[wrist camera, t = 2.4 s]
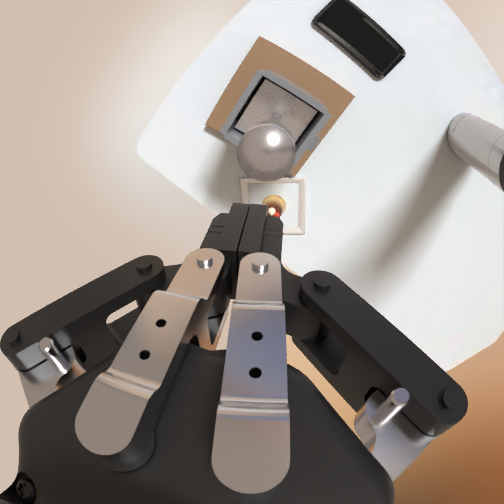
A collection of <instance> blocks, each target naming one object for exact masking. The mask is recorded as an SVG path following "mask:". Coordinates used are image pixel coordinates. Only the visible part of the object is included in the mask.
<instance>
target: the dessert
mask: <svg viewBox="0 0 504 504" xmlns="http://www.w3.org/2000/svg"><path fill="white" fill-rule="evenodd" d="M248 183H298V184H299V211H298V227H283V234H305V207H306V178H281V179H278V180H275V181H270V182H264V181H259V180H256V179H253V178H240V186H241V196H242V203H243V204H249V194H248ZM262 205H268V215H267V216H272V217H280V216H281V215H282V213H283V212H284V211H285V208H286V203H285V201H284V200H283V199H282V198H281V197H280V196H277V195H270V196H268V197H266V198H265V199H264V200H263V203H262Z"/></svg>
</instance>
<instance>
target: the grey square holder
mask: <svg viewBox="0 0 504 504" xmlns="http://www.w3.org/2000/svg"><path fill="white" fill-rule="evenodd" d="M265 79H267V80H269V81H270V82H272V83H274V84H275V85H277V86H279V87H280V88H282V89H284V90H285V91H287V92H289V93H290V94H292V95H293V96H295V97H297V98H298V99H300V100H301V101H303V102H304V103H306V104H308V105H309V106H311V107H312V108H314V109H315V110H316V111H317V113H316V114H315V116H314V117H313V119H312V120H311V121H310V123H309V124H308V125H307V127H306V128H305V130H304V131H303V132H302V134H301V135H300V136H299V138H298V139H297V141H296V142H295V152H296V158H295V162H294V165H293V167H292V169H291V170H290V172H289V173H288V174H291V175H292V176H295V175H296V174H297V172H298V171H299V170H300V168H301V167H302V166H303V164H304V163H305V162H306V160H307V159H308V158H309V156H310V155H311V154H312V152H313V151H314V150H315V148H316V147H317V146H318V144H319V143H320V142H321V140H322V139H323V138H324V137H325V135H326V134H327V133H328V131H329V130H330V129H331V127H332V126H333V125H334V123H335V122H336V121H337V119H338V118H339V117H340V115H341V114H342V113H343V111H344V110H345V109H346V107H347V106H348V105H349V104H350V102H351V101H352V100H353V98H354V97H355V96H354V95H352V94H351V93H350V92H348V91H347V90H346V89H344V88H343V87H341V86H340V85H339V84H337V83H336V82H334V81H333V80H332V79H330V78H329V77H327V76H326V75H324V74H323V73H321V72H320V71H318V70H317V69H315V68H314V67H312V66H310V65H309V64H307V63H306V62H304V61H303V60H301V59H299V58H298V57H296V56H294V55H293V54H291V53H289V52H287V51H286V50H284V49H282V48H280V47H279V46H277V45H275V44H273V43H271V42H270V41H268V40H266V39H264V38H262V37H260V36H259V38H258V39H257V41H256V42H255V44H254V45H253V47H252V48H251V50H250V51H249V53H248V54H247V56H246V57H245V59H244V60H243V62H242V63H241V65H240V66H239V68H238V70H237V71H236V73H235V74H234V76H233V78H232V79H231V81H230V82H229V84H228V86H227V87H226V89H225V91H224V92H223V94H222V96H221V98H220V99H219V101H218V103H217V104H216V106H215V108H214V110H213V111H212V113H211V115H210V117H209V118H208V120H207V122H206V124H205V125H207V126H209V127H211V128H213V129H214V130H216V131H218V132H219V133H221V134H223V135H225V136H224V139H225V140H227V141H229V142H231V143H232V144H234V145H236V146H238V144H239V142H240V140H241V138H242V137H243V135H244V134H245V133H244V132H242V131H240V130H238V129H237V128H235V126H236V124H237V123H238V121H239V119H240V118H241V116H242V115H243V113H244V111H245V110H246V108H247V107H248V105H249V104H250V102H251V100H252V99H253V97H254V96H255V94H256V93H257V91H258V90H259V88H260V87H261V85H262V83H263V82H264V80H265Z"/></svg>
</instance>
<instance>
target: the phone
mask: <svg viewBox="0 0 504 504" xmlns="http://www.w3.org/2000/svg"><path fill="white" fill-rule="evenodd" d="M313 23H314V25H315V26H317V27H318V28H319V29H321V30H322V31H323V32H324V33H326V34H327V35H328V36H330V37H331V38H332V39H333V40H335V41H336V42H337V43H338V44H339V45H341V46H342V47H343V48H344V49H345V50H347V51H348V52H349V53H350V54H351V55H352V56H354V57H355V58H356V59H357V60H358V61H359V62H360V63H361V64H362V65H363V66H365V67H366V68H367V69H368V70H369V71H370V72H371V73H372V74H373V75H374V76H375V77H377V78H384V77H385V76H386V75H387V74H388V73H389V72H390V71H391V70H392V69H393V68H394V67H395V66H396V65H397V64H398V63H399V62H400V61H401V60H402V59H403V58H404V57H405V50H404V49H403V48H402V47H401V46H400V45H399V44H398V43H397V42H396V41H395V40H394V39H393V38H392V37H391V36H390V35H389V34H388V33H387V32H386V31H385V30H384V29H383V28H382V27H380V26H379V25H378V24H377V23H376V22H375V21H374V20H373V19H371V18H370V17H369V16H368V15H367V14H366V13H364V12H363V11H362V10H361V9H360V8H358V7H357V6H356V5H355V4H353V3H352V2H351V1H350V0H331V1H330V2H329V3H328V4H327V5H326V6H325V7H324V8H323V9H322V10H321V11H320V12H319V13H318V14H317V15H316V16H315V17H314V19H313Z"/></svg>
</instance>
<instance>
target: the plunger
mask: <svg viewBox="0 0 504 504" xmlns="http://www.w3.org/2000/svg"><path fill="white" fill-rule="evenodd" d="M316 113H317V111H316V110H315V109H314V108H312V107H311V106H309V105H308V104H306V103H304V102H303V101H301V100H300V99H298V98H297V97H295V96H293V95H292V94H290V93H289V92H287V91H285V90H284V89H282V88H280V87H279V86H277V85H275V84H274V83H272V82H270V81H269V80H267V79H265V80H264V82H263V83H262V85H261V87H260V88H259V90H258V91H257V93H256V94H255V96H254V97H253V99H252V100H251V102H250V104H249V105H248V107H247V108H246V110H245V111H244V113H243V115H242V116H241V118H240V119H239V121H238V123H237V124H236V126H235V128H237V129H238V130H240V131H242V132H244V133H245V134H244V135H243V137H242V138H241V140H240V142H239V144H238V147H237V159H238V163H239V165H240V167H241V168H242V170H243V171H244V172H245V173H246V174H247V175H248V176H250V177H251V178H253V179H256V180H259V181H264V182H270V181H275V180H278V179H281V178H283V177H284V176H285V175H287V174H288V173H289V172H290V170H291V169H292V167H293V165H294V162H295V158H296V152H295V142H296V141H297V139H298V138H299V136H300V135H301V134H302V132H303V131H304V130H305V128H306V127H307V125H308V124H309V123H310V121H311V120H312V119H313V117H314V116H315V114H316Z"/></svg>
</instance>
